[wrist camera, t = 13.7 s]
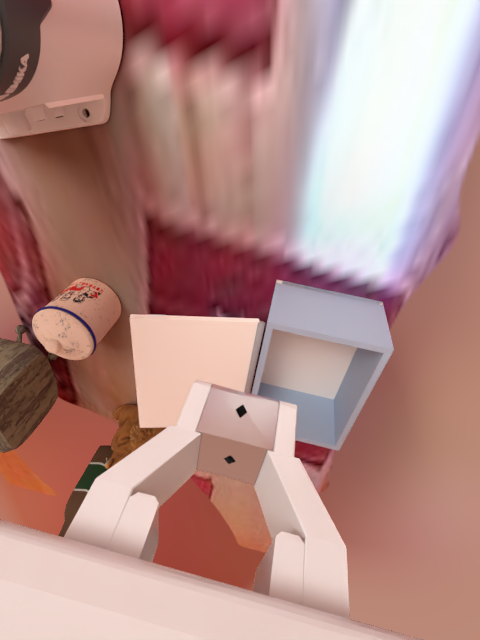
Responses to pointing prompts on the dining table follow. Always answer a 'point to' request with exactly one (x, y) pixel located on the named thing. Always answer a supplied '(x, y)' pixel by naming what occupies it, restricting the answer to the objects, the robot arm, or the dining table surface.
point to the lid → (189, 360)
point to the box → (322, 358)
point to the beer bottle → (85, 484)
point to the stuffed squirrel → (129, 434)
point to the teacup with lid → (77, 319)
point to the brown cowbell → (23, 390)
